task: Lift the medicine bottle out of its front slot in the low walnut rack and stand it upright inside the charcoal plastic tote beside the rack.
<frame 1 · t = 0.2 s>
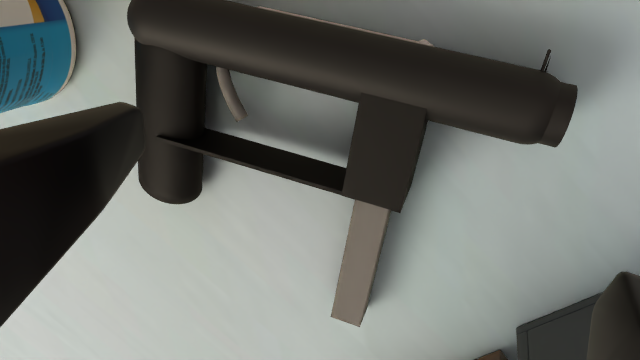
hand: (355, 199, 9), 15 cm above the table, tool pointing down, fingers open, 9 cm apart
door handle: (322, 158, 27), on the table
beverage bottle: (25, 29, 30), on the table
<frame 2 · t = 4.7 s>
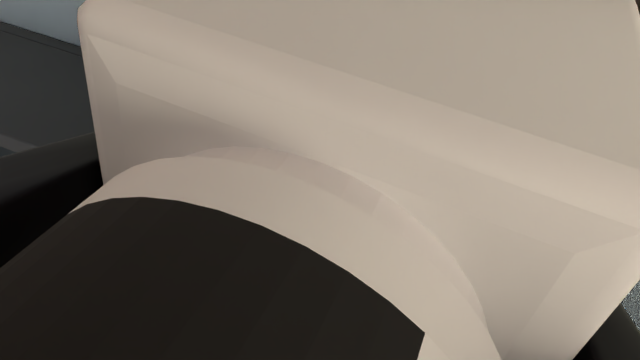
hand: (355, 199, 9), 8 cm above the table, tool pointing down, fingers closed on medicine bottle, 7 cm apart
medicine bottle: (418, 91, 13), point 3 cm above the table, touching gripper
tote: (90, 165, 24), on the table
when the fingers open (5 cm above the table, at t = 9.4 s): medicine bottle stays where it is, resting on tote.
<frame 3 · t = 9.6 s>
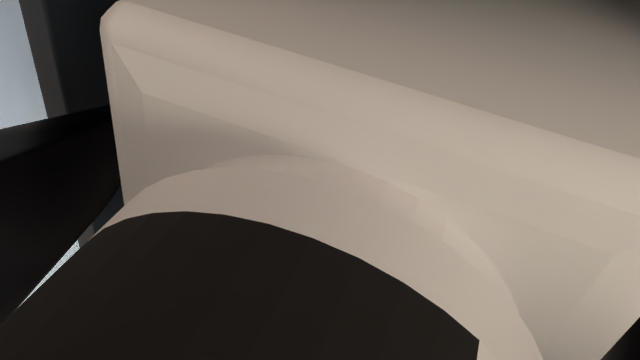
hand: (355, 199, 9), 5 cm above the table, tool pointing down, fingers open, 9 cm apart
medicine bottle: (423, 88, 13), resting on tote
tote: (415, 76, 13), on the table
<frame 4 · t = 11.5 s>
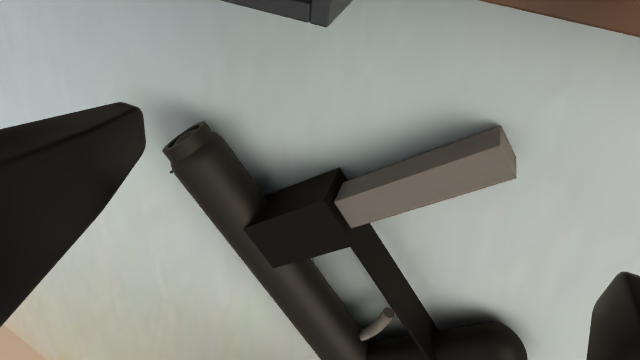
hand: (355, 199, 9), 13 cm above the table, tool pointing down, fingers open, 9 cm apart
door handle: (384, 236, 27), on the table
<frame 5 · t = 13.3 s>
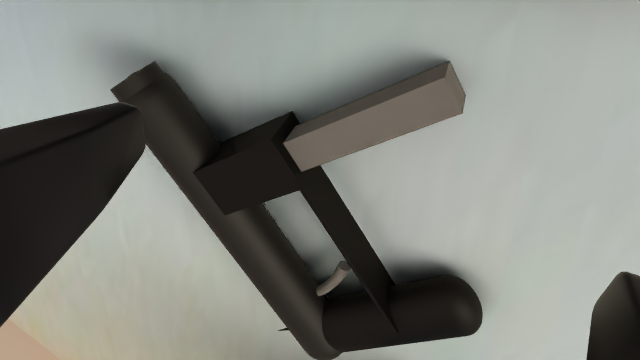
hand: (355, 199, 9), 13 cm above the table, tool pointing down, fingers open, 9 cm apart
door handle: (339, 185, 27), on the table
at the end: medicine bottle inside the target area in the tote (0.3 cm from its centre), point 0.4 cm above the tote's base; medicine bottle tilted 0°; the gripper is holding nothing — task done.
